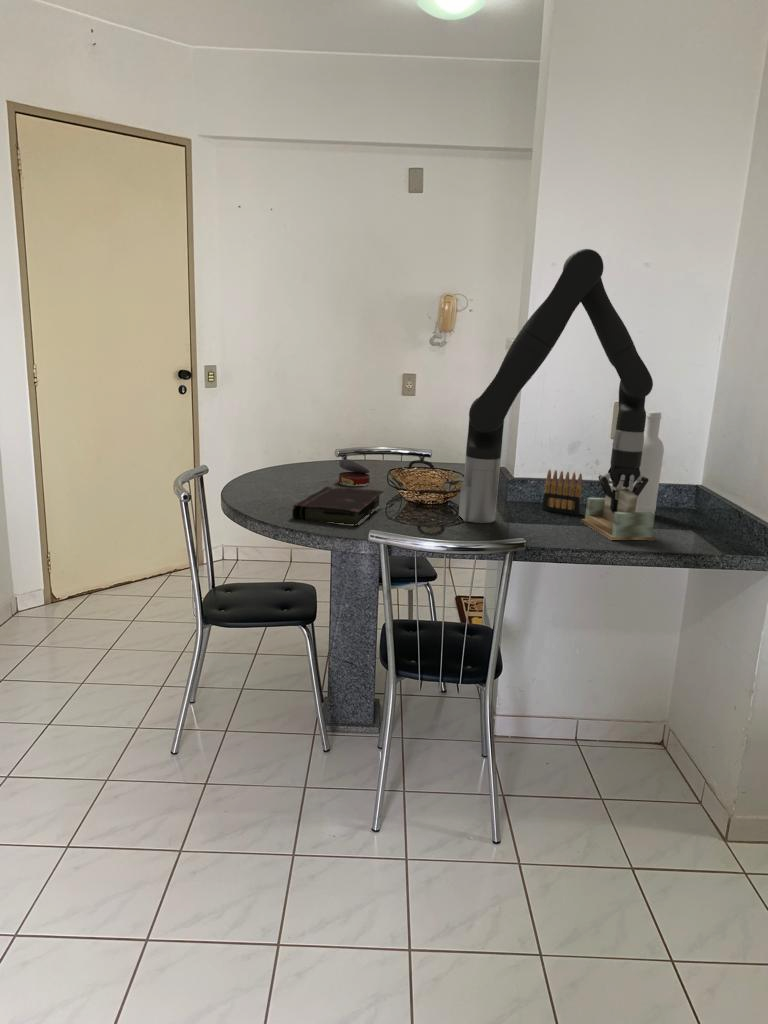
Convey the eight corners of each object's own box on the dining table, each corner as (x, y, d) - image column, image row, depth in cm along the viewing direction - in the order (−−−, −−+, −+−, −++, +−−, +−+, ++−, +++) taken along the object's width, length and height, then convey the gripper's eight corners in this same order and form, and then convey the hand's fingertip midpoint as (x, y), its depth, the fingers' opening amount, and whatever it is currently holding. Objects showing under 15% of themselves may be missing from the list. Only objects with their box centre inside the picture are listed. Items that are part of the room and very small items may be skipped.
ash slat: (622, 533, 195) (628, 495, 192) (602, 518, 206) (607, 483, 203) (631, 533, 195) (637, 495, 192) (610, 518, 206) (616, 483, 203)
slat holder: (610, 540, 191) (614, 513, 189) (581, 522, 208) (584, 497, 206) (654, 540, 193) (658, 514, 191) (621, 522, 210) (624, 498, 208)
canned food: (337, 496, 243) (330, 467, 245) (365, 491, 247) (358, 462, 249) (348, 487, 233) (341, 456, 235) (378, 482, 237) (370, 452, 239)
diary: (291, 522, 194) (291, 503, 193) (323, 502, 218) (323, 485, 217) (360, 529, 190) (361, 510, 189) (385, 508, 213) (386, 490, 212)
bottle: (642, 510, 227) (656, 410, 219) (660, 517, 219) (675, 413, 212) (620, 511, 224) (634, 410, 216) (638, 518, 217) (652, 413, 209)
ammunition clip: (541, 509, 220) (545, 469, 217) (542, 508, 222) (547, 468, 219) (578, 515, 216) (583, 473, 214) (579, 513, 218) (584, 472, 215)
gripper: (609, 449, 190) (600, 516, 194) (659, 451, 193) (650, 516, 197) (596, 444, 197) (588, 509, 202) (644, 446, 200) (636, 509, 204)
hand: (618, 512), depth 199 cm, fingers closed on ash slat, 2 cm apart
